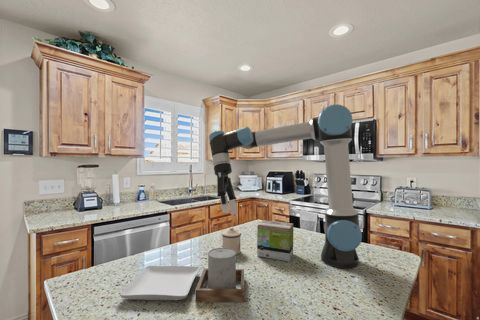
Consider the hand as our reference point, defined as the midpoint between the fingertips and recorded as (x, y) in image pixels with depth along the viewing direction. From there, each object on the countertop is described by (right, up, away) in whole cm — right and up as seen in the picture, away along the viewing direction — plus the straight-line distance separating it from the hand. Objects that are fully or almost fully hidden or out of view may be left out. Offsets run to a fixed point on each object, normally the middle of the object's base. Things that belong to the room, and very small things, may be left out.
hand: (230, 213), depth 98 cm
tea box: (+20, -22, +13) cm, 33 cm away
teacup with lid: (-1, -22, +18) cm, 29 cm away
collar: (-2, -22, -17) cm, 28 cm away
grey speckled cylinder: (-2, -22, -17) cm, 28 cm away
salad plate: (-22, -22, -16) cm, 35 cm away
